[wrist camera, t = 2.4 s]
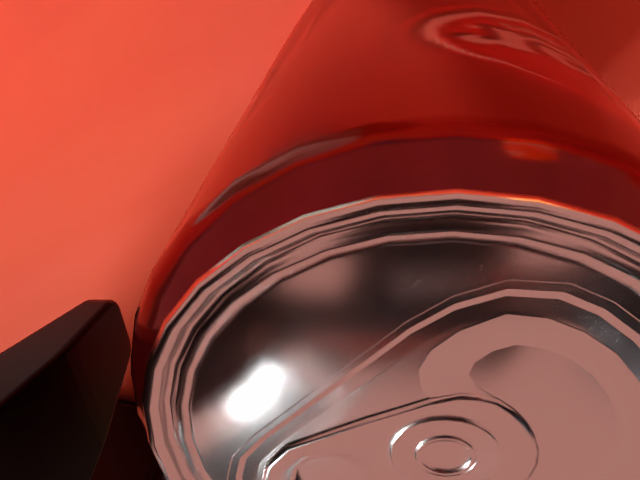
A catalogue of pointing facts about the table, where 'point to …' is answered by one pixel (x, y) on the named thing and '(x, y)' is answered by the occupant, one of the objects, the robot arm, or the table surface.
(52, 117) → the table surface
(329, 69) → the soda can
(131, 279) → the table surface
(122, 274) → the table surface
